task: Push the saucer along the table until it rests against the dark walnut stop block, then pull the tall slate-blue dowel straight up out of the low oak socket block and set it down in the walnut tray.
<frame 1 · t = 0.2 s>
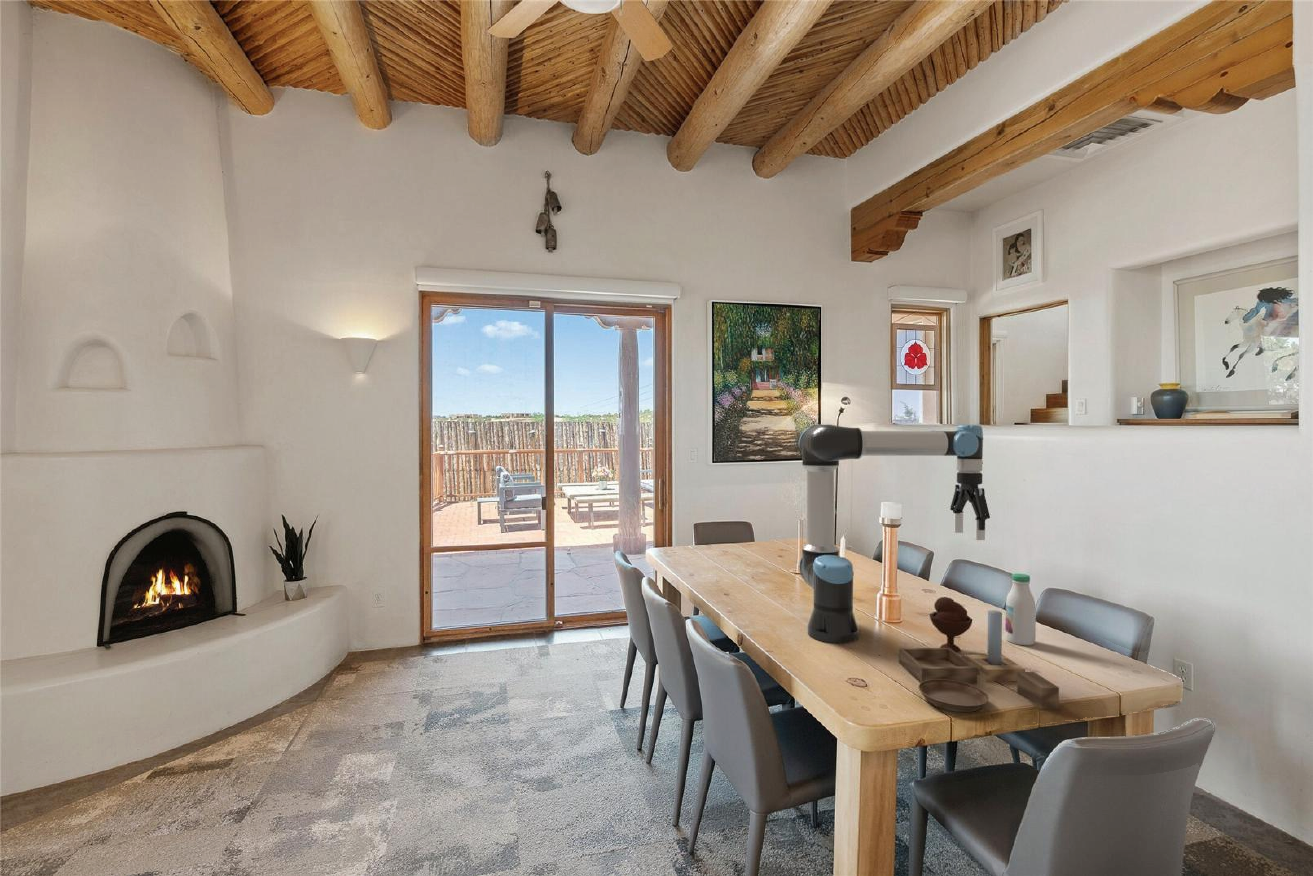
hand: (968, 536, 203), 28 cm above the table, tool pointing down, fingers open, 13 cm apart
stop block: (1037, 700, 144), on the table
milk bottle: (1020, 642, 183), on the table
ice cream bowl: (950, 650, 177), on the table
saucer: (952, 703, 144), on the table
socket block: (994, 673, 160), on the table
dowel: (994, 642, 160), in the socket block
tray: (936, 672, 160), on the table
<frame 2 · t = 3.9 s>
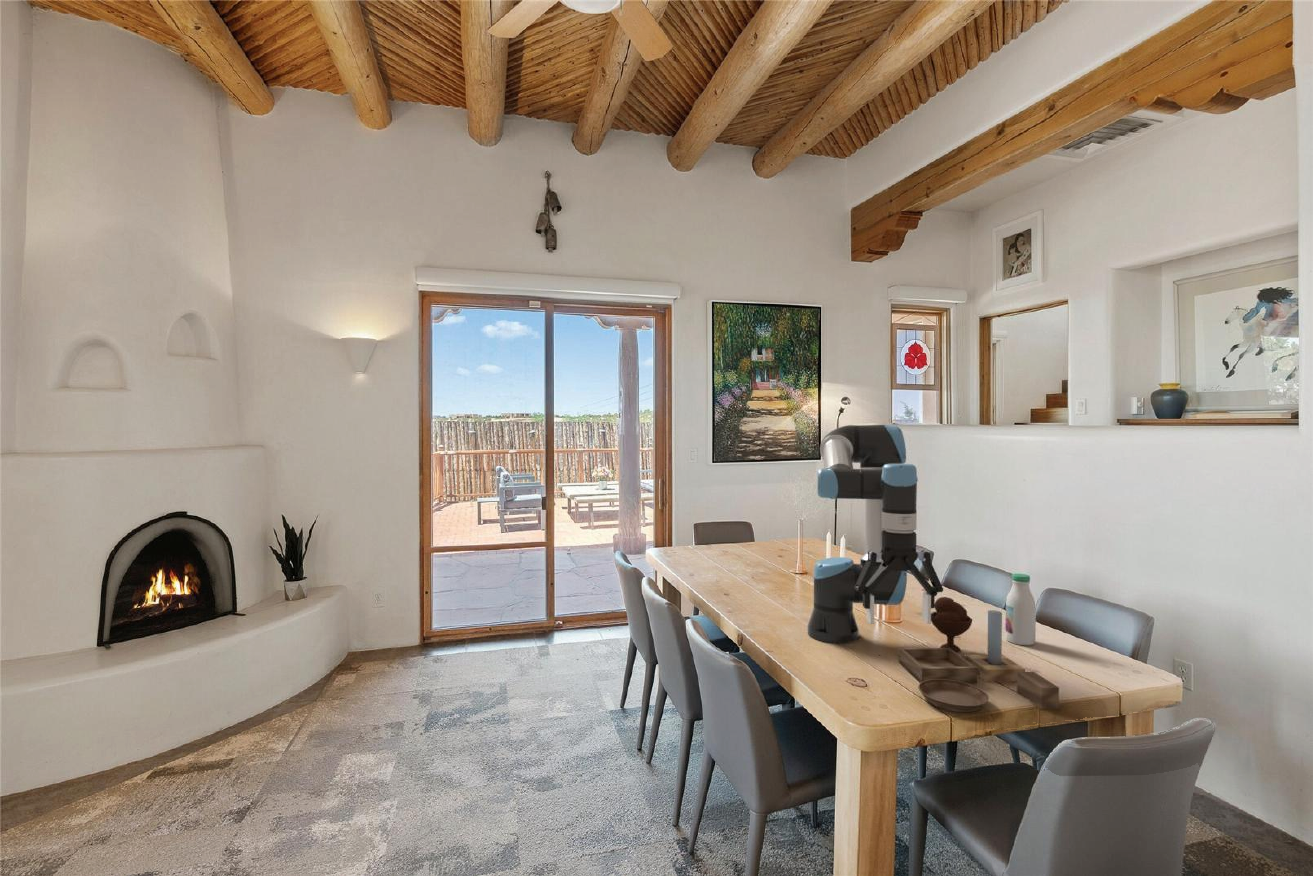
hand: (898, 622, 143), 19 cm above the table, tool pointing down, fingers open, 12 cm apart
nothing on the table moved.
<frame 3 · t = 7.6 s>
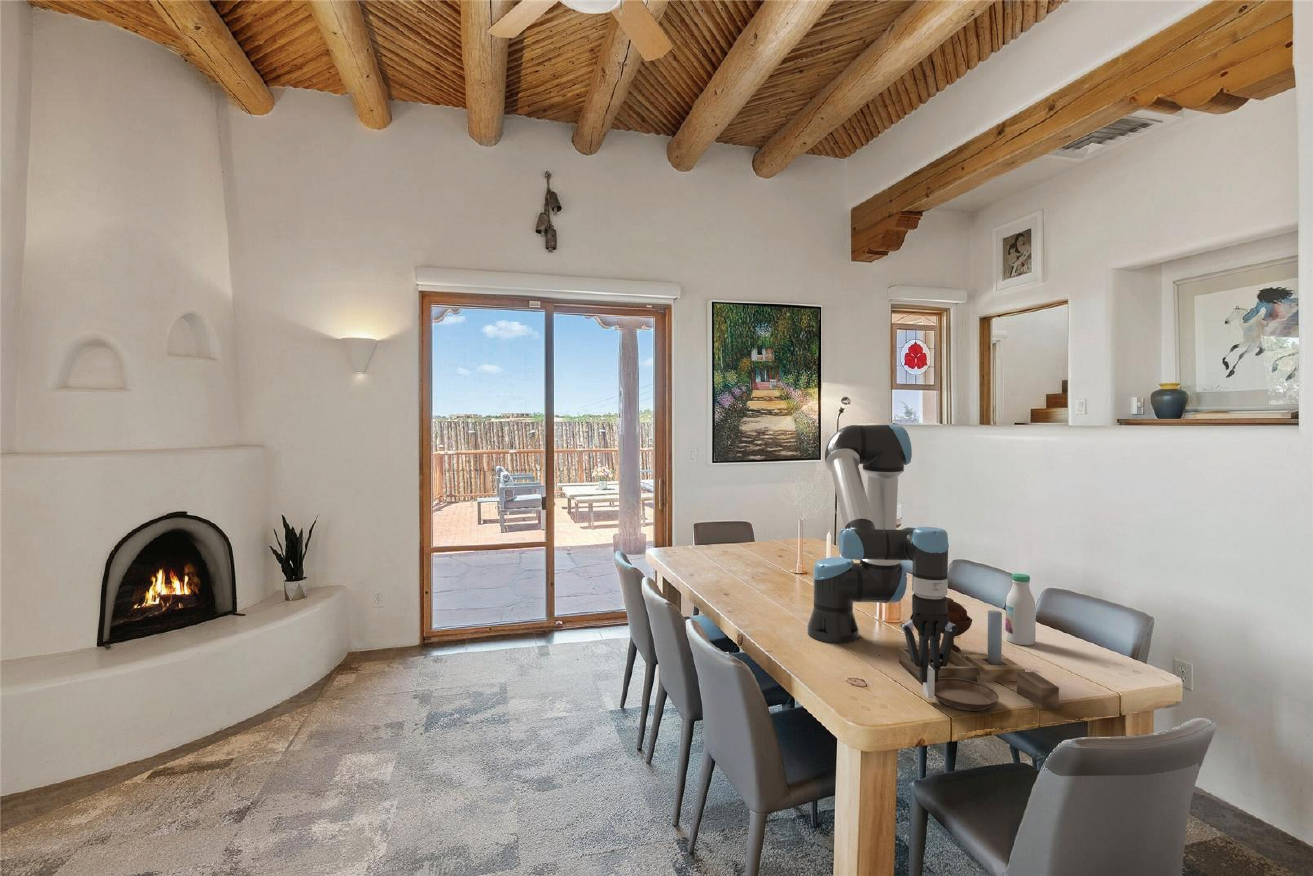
hand: (928, 695, 143), 1 cm above the table, tool pointing down, fingers closed
saucer: (962, 702, 144), on the table
everything else where it was.
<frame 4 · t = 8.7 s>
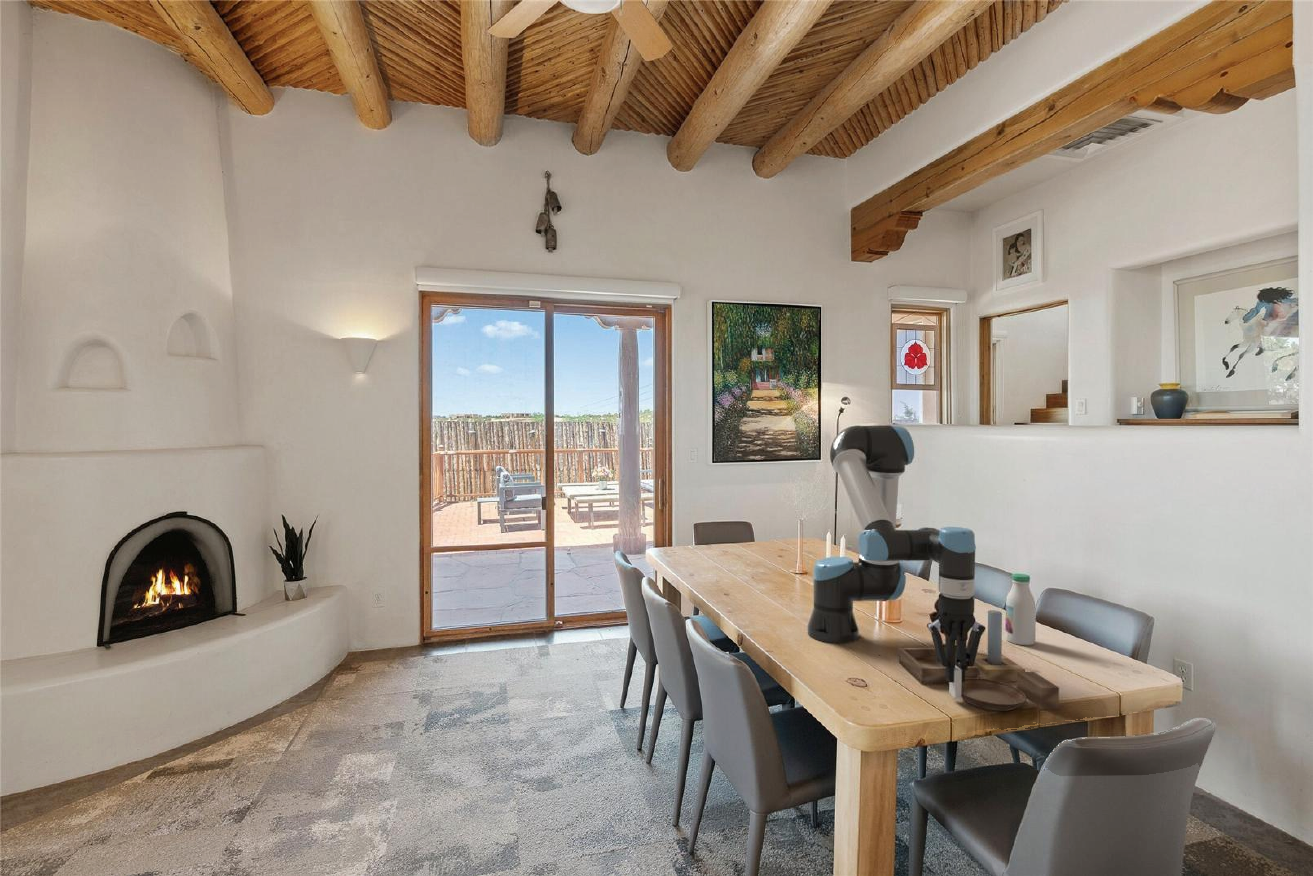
hand: (955, 695, 144), 1 cm above the table, tool pointing down, fingers closed
saucer: (988, 702, 144), on the table
everything else where it was.
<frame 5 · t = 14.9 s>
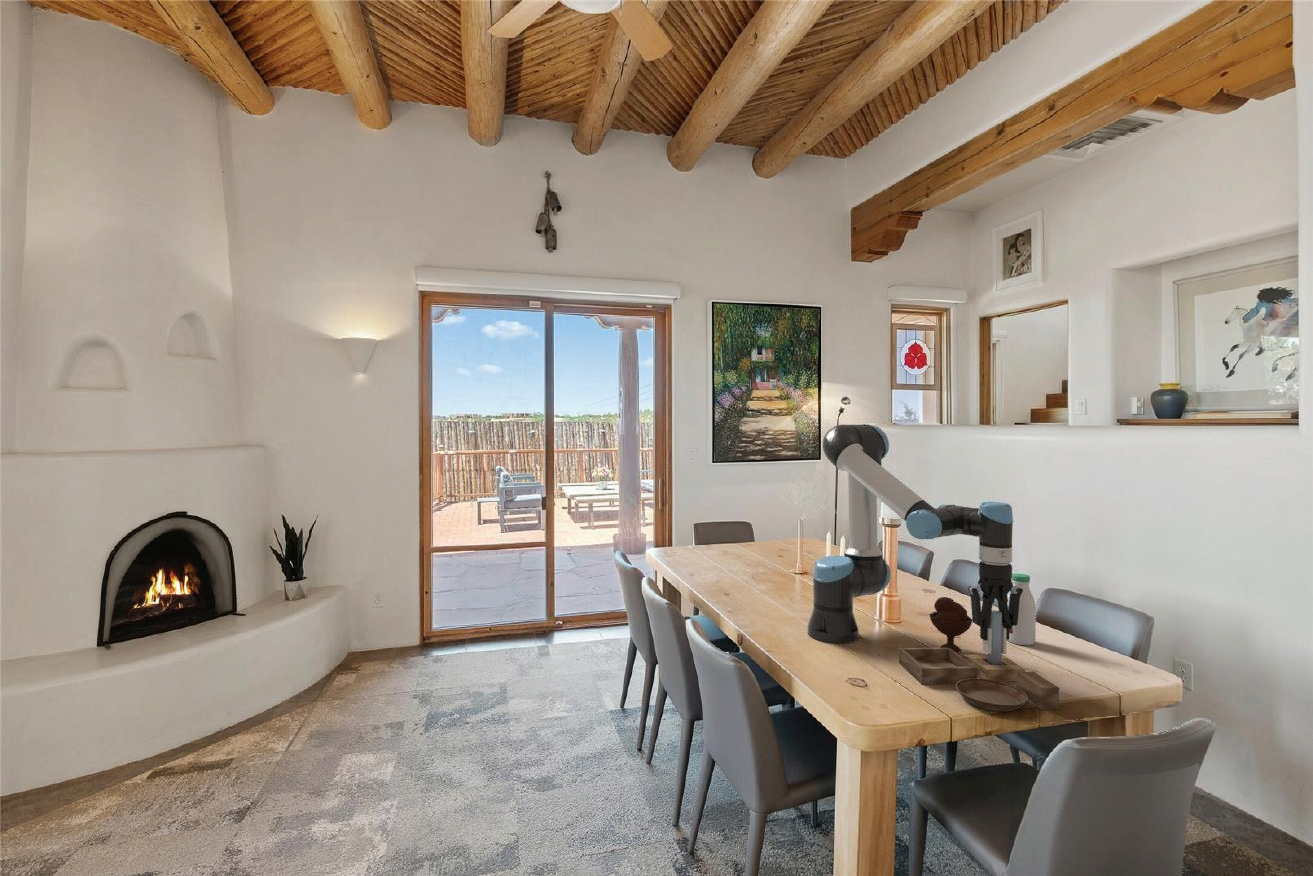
hand: (994, 652, 160), 6 cm above the table, tool pointing down, fingers closed on dowel, 3 cm apart
dowel: (994, 642, 160), in the socket block, touching gripper
everything else where it was.
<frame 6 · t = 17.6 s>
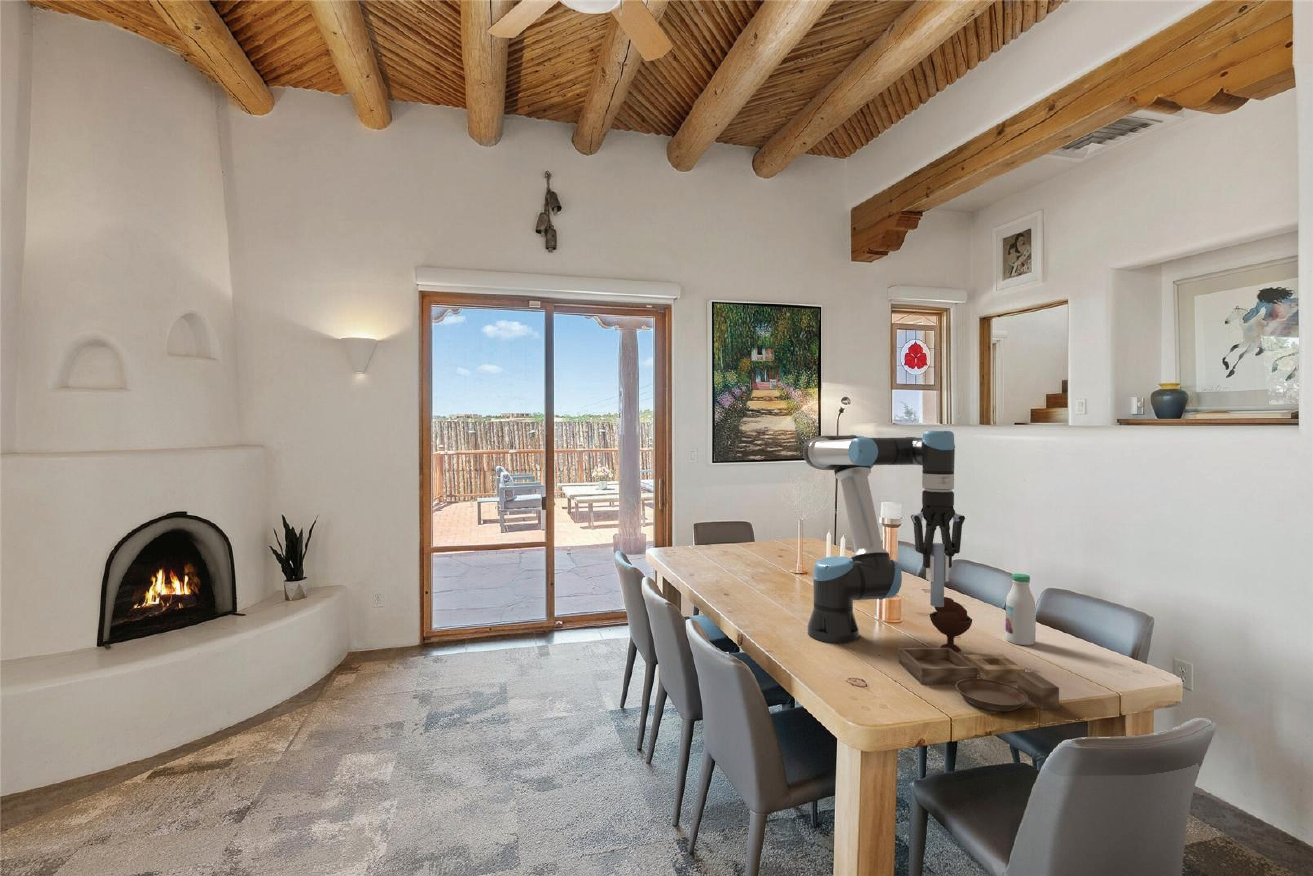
hand: (937, 580, 160), 24 cm above the table, tool pointing down, fingers closed on dowel, 3 cm apart
dowel: (937, 574, 160), point 26 cm above the table, touching gripper
everything else where it was.
when the fingers open (8 cm above the table, at t = 20.7 s): dowel stays where it is, resting on tray.
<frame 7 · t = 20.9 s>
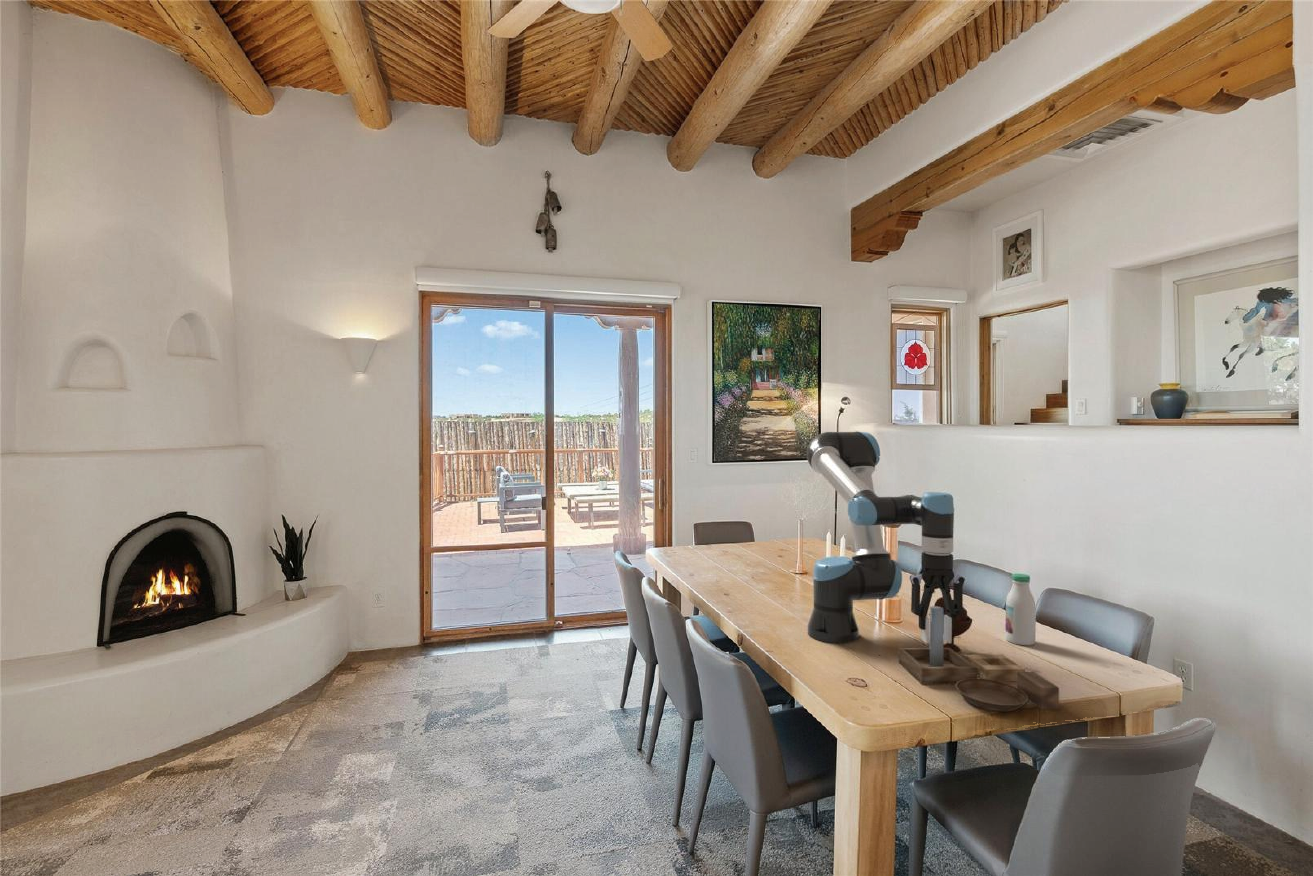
hand: (936, 641, 160), 8 cm above the table, tool pointing down, fingers open, 5 cm apart
dowel: (936, 638, 160), in the tray, point 9 cm above the table
everything else where it was.
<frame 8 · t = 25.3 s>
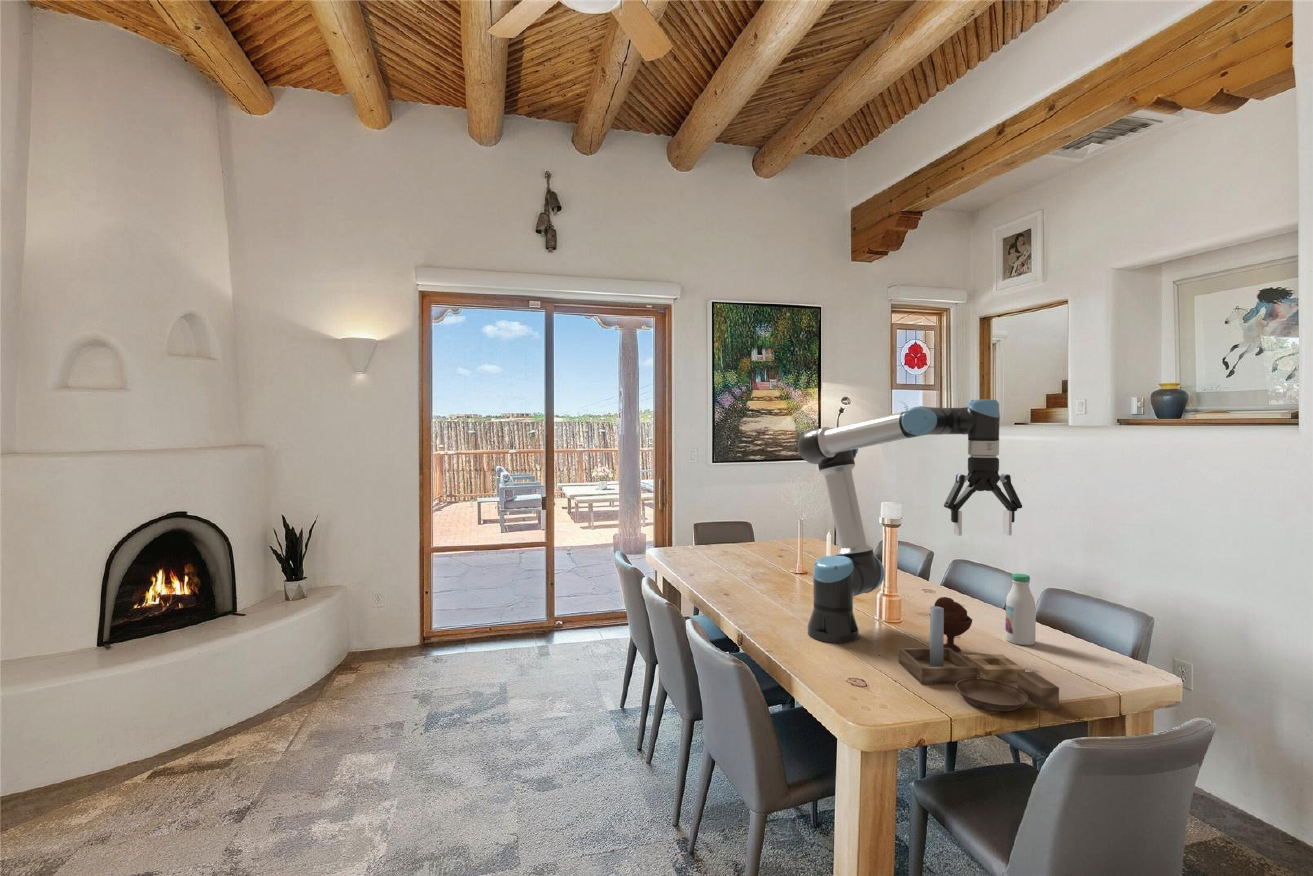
hand: (982, 534, 167), 35 cm above the table, tool pointing down, fingers open, 13 cm apart
nothing on the table moved.
at the end: dowel inside the target area on the tray (0.1 cm from its centre), point 9.0 cm above the tray's base; saucer inside the target area (1.9 cm from its centre), on the table; the gripper is holding nothing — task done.
